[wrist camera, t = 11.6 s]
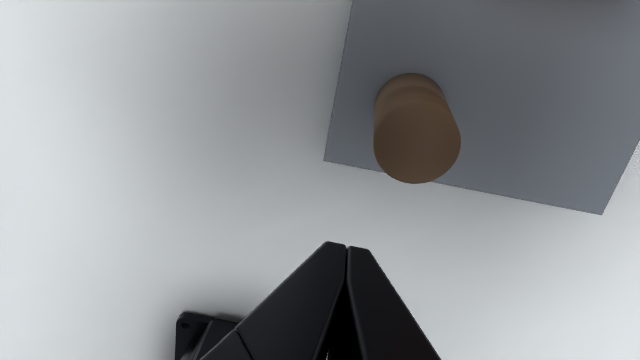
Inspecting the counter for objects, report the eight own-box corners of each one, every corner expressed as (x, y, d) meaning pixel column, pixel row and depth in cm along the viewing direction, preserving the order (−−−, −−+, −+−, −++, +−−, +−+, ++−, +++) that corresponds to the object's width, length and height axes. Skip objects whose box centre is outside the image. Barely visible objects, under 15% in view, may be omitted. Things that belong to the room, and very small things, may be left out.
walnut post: (434, 146, 20) (447, 190, 16) (367, 133, 20) (365, 174, 16) (454, 80, 18) (472, 112, 15) (382, 66, 19) (383, 95, 15)
